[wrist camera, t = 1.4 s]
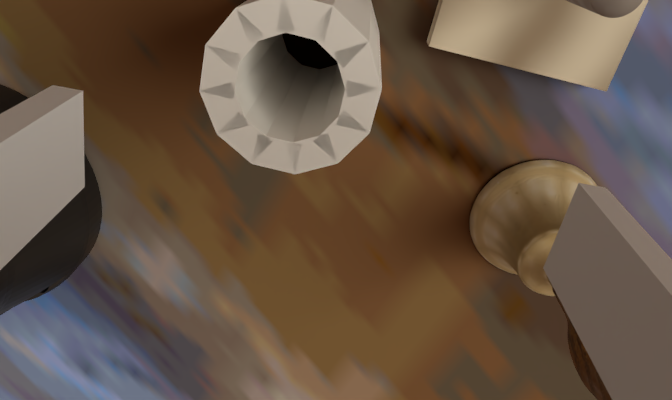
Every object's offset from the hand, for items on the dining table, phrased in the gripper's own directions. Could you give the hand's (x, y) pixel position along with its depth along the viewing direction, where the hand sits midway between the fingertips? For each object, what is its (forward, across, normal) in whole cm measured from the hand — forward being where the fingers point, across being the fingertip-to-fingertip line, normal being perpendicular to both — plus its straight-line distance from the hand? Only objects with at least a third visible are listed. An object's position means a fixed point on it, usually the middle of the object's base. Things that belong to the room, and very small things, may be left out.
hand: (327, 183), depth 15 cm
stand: (+19, +10, +6) cm, 22 cm away
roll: (+19, -2, 0) cm, 19 cm away
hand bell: (+19, +14, -8) cm, 25 cm away
